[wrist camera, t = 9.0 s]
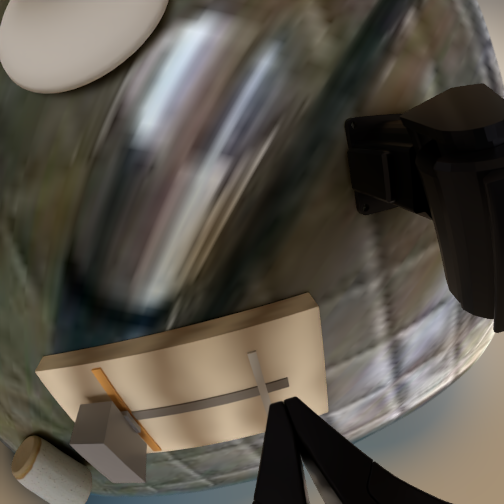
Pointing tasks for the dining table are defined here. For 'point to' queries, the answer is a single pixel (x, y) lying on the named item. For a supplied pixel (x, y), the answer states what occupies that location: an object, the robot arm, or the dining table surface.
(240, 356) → the fader console
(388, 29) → the dining table surface
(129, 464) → the fader tab
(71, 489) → the ceramic mug
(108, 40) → the flower in vase
